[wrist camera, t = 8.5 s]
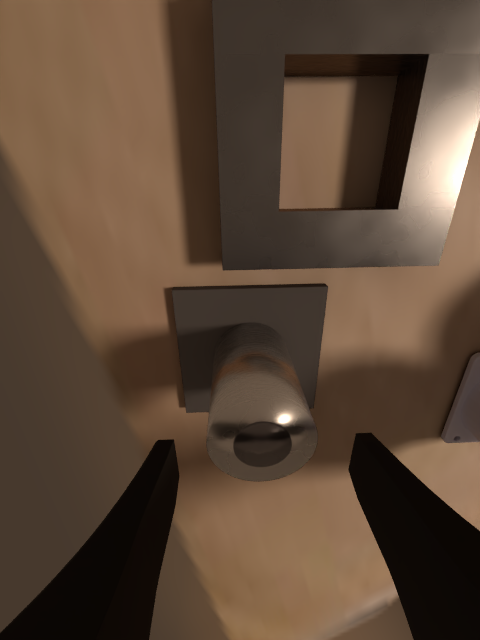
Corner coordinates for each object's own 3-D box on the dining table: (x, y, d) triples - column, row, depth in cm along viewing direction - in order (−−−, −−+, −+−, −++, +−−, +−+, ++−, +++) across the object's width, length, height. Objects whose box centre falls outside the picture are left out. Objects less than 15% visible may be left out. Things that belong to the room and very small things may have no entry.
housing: (475, -7, 12) (525, -48, 10) (412, 256, 16) (438, 265, 14) (213, -7, 12) (209, -50, 10) (223, 260, 16) (222, 270, 14)
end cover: (289, 322, 17) (326, 401, 11) (283, 383, 19) (311, 483, 12) (213, 322, 17) (204, 402, 10) (215, 384, 19) (207, 485, 12)
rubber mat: (324, 283, 17) (328, 286, 16) (311, 402, 21) (313, 408, 20) (173, 287, 17) (171, 290, 16) (187, 406, 20) (186, 412, 20)
